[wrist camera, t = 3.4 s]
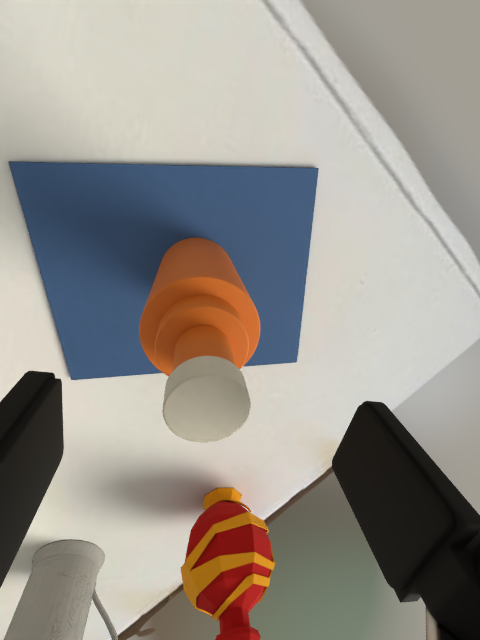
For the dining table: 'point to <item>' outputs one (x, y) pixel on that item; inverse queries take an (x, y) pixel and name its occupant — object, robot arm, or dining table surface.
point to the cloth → (162, 248)
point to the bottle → (200, 339)
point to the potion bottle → (228, 563)
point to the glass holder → (59, 593)
